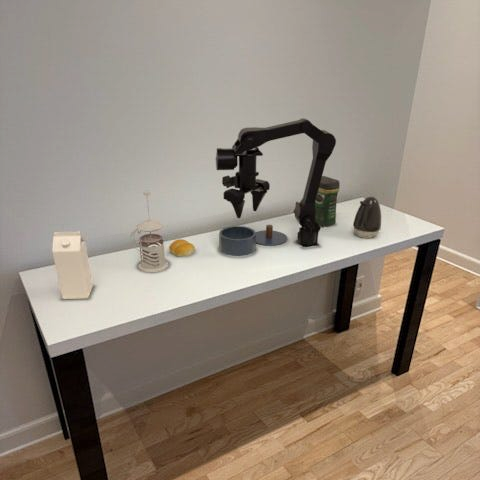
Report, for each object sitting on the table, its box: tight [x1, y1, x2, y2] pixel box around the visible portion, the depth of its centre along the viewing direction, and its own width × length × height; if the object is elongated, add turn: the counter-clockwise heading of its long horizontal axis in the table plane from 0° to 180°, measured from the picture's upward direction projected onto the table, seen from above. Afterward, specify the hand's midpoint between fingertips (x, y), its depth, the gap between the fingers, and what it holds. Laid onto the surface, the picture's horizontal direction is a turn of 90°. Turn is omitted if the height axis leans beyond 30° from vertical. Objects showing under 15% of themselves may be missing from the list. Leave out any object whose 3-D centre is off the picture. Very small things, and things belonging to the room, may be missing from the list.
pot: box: [218, 225, 257, 257], centre depth 156 cm, size 13×13×6 cm
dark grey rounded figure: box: [352, 196, 382, 239], centre depth 167 cm, size 10×10×15 cm
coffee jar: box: [315, 175, 341, 227], centre depth 177 cm, size 10×8×19 cm
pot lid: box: [255, 224, 289, 247], centre depth 164 cm, size 14×14×6 cm
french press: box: [130, 190, 169, 273], centre depth 140 cm, size 10×12×25 cm
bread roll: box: [168, 238, 196, 258], centre depth 154 cm, size 8×9×4 cm
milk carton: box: [51, 231, 94, 300], centre depth 125 cm, size 7×7×19 cm
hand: (246, 214), depth 153 cm, fingers open, 9 cm apart
